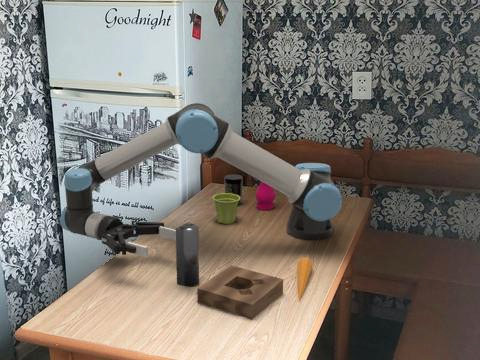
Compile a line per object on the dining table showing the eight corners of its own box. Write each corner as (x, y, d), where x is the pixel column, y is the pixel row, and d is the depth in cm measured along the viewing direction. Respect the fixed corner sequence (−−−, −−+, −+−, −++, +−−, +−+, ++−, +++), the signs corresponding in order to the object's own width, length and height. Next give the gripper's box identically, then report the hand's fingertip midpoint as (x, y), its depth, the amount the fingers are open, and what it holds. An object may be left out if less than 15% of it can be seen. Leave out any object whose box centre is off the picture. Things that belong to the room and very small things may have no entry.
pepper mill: (273, 211, 216) (274, 158, 210) (253, 210, 217) (254, 156, 211) (276, 205, 223) (277, 153, 217) (257, 203, 224) (258, 152, 218)
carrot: (300, 270, 171) (295, 257, 170) (315, 266, 170) (310, 253, 168) (293, 310, 153) (287, 296, 152) (310, 306, 152) (304, 292, 150)
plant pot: (234, 215, 212) (234, 191, 209) (243, 224, 204) (244, 200, 201) (209, 218, 209) (209, 194, 206) (217, 227, 200) (217, 203, 198)
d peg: (176, 283, 160) (175, 228, 156) (187, 276, 165) (186, 222, 160) (192, 288, 158) (191, 232, 153) (202, 281, 162) (202, 226, 157)
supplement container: (239, 207, 220) (239, 180, 217) (222, 205, 222) (222, 178, 219) (244, 201, 226) (244, 175, 223) (227, 200, 228) (227, 173, 225)
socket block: (197, 302, 151) (197, 288, 150) (230, 278, 164) (231, 265, 163) (252, 319, 143) (252, 304, 142) (282, 293, 156) (283, 279, 155)
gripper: (134, 226, 184) (190, 241, 174) (73, 254, 164) (133, 273, 154) (133, 203, 182) (189, 217, 172) (72, 229, 162) (131, 246, 151)
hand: (163, 243), depth 163 cm, fingers open, 13 cm apart
